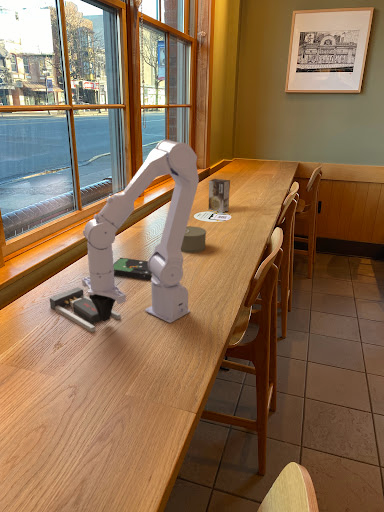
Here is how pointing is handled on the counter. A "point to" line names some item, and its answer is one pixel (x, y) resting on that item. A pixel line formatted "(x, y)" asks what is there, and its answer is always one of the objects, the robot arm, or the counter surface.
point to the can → (193, 240)
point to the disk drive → (132, 269)
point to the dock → (64, 300)
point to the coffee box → (219, 195)
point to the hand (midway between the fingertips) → (105, 319)
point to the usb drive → (85, 310)
